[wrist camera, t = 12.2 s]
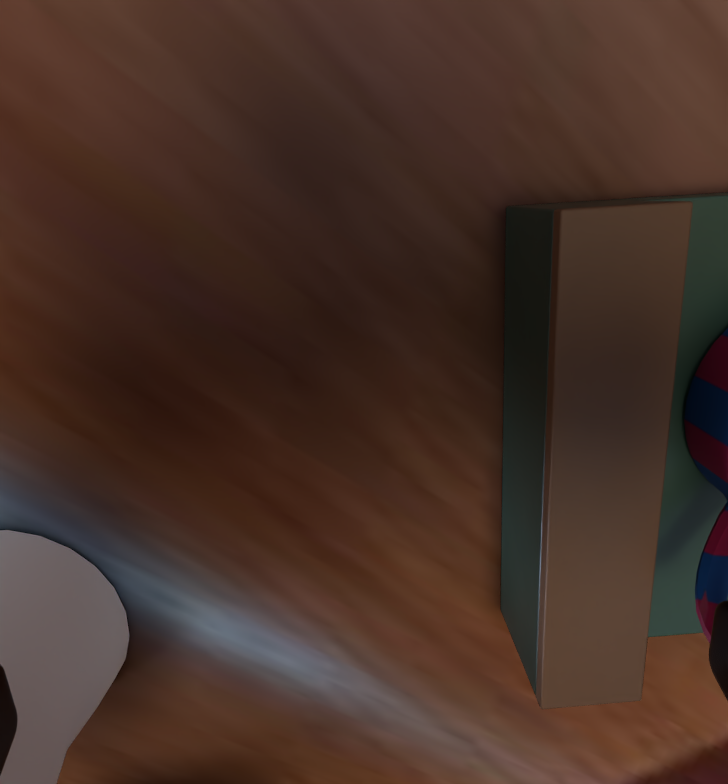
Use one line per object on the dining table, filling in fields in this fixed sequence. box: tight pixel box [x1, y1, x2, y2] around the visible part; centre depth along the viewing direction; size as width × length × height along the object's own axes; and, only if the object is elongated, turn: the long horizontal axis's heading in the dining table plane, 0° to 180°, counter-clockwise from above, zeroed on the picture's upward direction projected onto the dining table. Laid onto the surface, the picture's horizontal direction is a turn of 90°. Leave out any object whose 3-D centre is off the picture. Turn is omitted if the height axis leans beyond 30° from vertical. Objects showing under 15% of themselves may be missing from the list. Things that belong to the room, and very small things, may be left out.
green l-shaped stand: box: [501, 192, 728, 709], centre depth 18 cm, size 14×12×4 cm
